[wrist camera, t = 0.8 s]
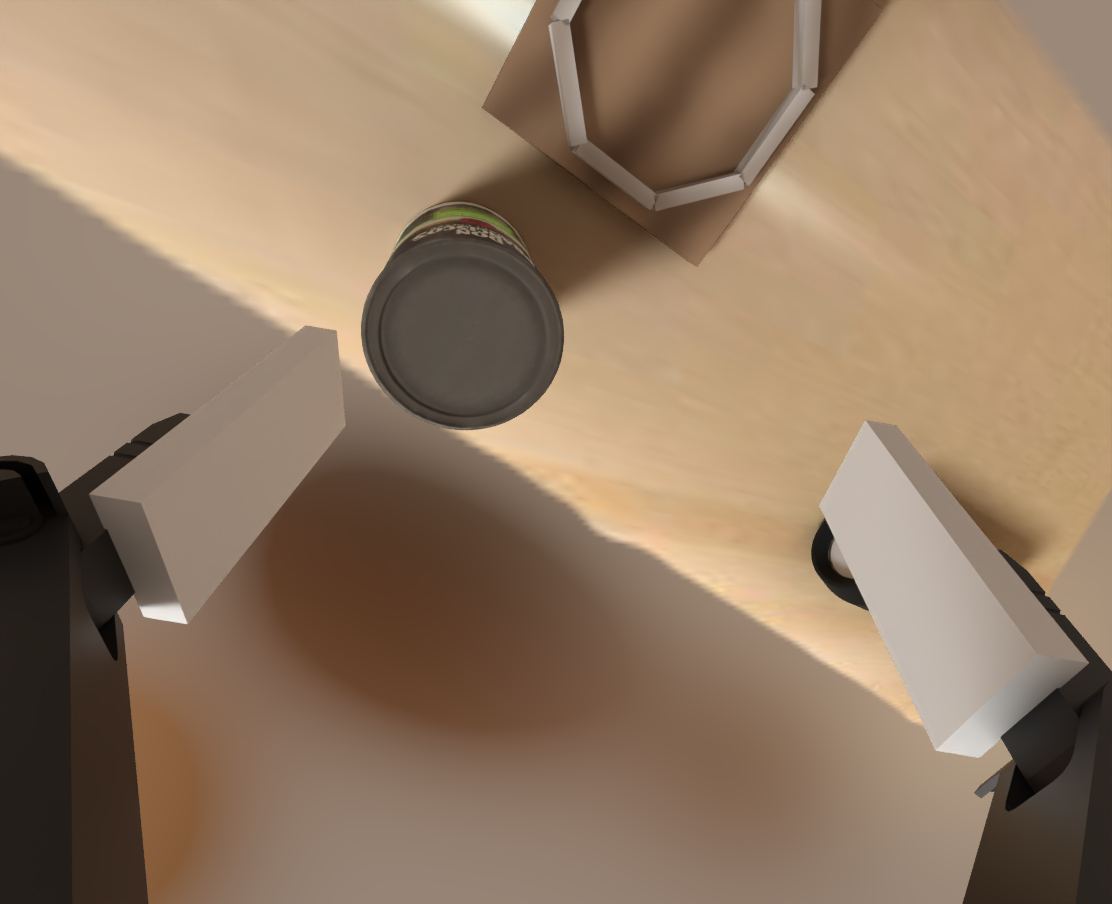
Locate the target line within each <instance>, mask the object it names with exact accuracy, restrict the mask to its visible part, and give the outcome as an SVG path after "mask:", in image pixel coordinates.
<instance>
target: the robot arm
mask: <svg viewBox="0 0 1112 904" xmlns="http://www.w3.org/2000/svg"><path fill="white" fill-rule="evenodd" d="M344 427H345V414H344V404H343V393H342V383H341V372H340V362H339V351H338V341H337V331H335V330H329V329H323V328H318V327H312V326H304V327H303V328H302V329H301V330H299V331H298V332H297V333H295V334H294V335H293V336H292V337H290V338H289V339H288V340H286V341H285V342H284V343H283V344H281V345H280V346H279V347H277V348H276V349H275V350H274V351H272V352H271V353H270V354H268V355H267V356H266V357H264V358H263V359H262V360H261V361H259V362H258V363H257V364H255V365H254V366H253V367H252V368H250V369H249V370H248V371H246V372H245V373H244V374H243V375H242V376H240V377H239V378H237V379H236V380H235V381H234V382H232V383H231V384H230V385H229V386H227V387H226V388H225V389H223V390H222V391H221V392H219V393H218V394H217V395H216V396H214V397H213V398H212V399H210V400H209V401H208V402H207V403H205V404H204V405H203V406H202V407H200V408H199V409H198V410H196V411H195V412H194V413H193V414H191V415H189V414H183V413H179V414H176V415H174V416H171V417H169V418H167V419H164V420H162V421H159V422H157V423H155V424H152V425H151V426H149V427H148V428H147V429H145V430H144V431H142V432H141V433H140V434H138V435H137V436H136V437H134V438H133V439H132V440H131V443H126V444H125V445H123V446H122V447H121V448H119V449H118V450H117V451H115V452H114V456H109V457H107V458H106V459H104V460H103V461H102V462H100V463H99V464H97V465H96V466H95V467H93V468H92V469H91V470H89V471H88V472H87V473H85V474H84V475H82V476H81V477H80V478H78V479H77V480H76V481H74V482H73V483H72V484H70V485H69V486H68V487H66V488H65V489H64V490H62V491H61V492H59V493H58V490H57V489H56V487H55V484H54V482H53V480H52V478H51V476H50V474H49V472H48V470H47V468H46V466H45V464H44V463H43V462H41V461H39V460H36V459H34V458H32V457H25V456H14V455H11V456H1V457H0V904H148V893H147V883H146V871H145V860H144V849H143V839H142V828H141V817H140V806H139V795H138V784H137V774H136V763H135V752H134V740H133V730H132V719H131V708H130V697H129V686H128V675H127V664H126V653H125V643H124V632H123V624H122V622H121V619H120V617H119V615H118V613H117V611H118V610H119V609H120V608H121V607H122V606H123V605H124V604H125V603H126V602H127V601H128V599H130V598H131V596H132V595H133V594H134V596H135V598H136V600H137V602H138V605H139V607H140V609H141V611H142V614H143V616H144V617H148V618H154V619H160V620H166V621H172V622H178V623H184V624H188V623H189V622H190V621H191V619H192V618H193V617H194V615H195V614H196V613H197V612H198V610H199V609H200V608H201V607H202V605H203V604H204V603H205V602H206V600H207V599H208V598H209V597H210V595H211V594H212V593H213V592H214V590H215V589H216V588H217V586H218V585H219V584H220V583H221V581H222V580H223V579H224V578H225V576H226V575H227V574H228V573H229V571H230V570H231V569H232V568H233V566H234V565H235V564H236V562H237V561H238V560H239V559H240V558H241V556H242V555H243V554H244V553H245V551H246V550H247V549H248V547H249V546H250V545H251V544H252V543H253V541H254V540H255V539H256V537H257V536H258V535H259V534H260V532H261V531H262V530H263V529H264V527H265V526H266V525H267V524H268V522H269V521H270V520H271V519H272V517H273V516H274V515H275V513H276V512H277V511H278V510H279V509H280V507H281V506H282V505H283V503H284V502H285V501H286V500H287V498H288V497H289V496H290V494H291V493H292V492H293V491H294V490H295V488H296V487H297V486H298V485H299V483H300V482H301V481H302V480H303V478H304V477H305V476H306V475H307V473H308V472H309V471H310V470H311V468H312V467H313V466H314V464H315V463H316V462H317V461H318V460H319V458H320V457H321V456H322V454H323V453H324V452H325V451H326V449H327V448H328V447H329V446H330V444H331V443H332V442H333V440H334V439H335V438H336V437H337V436H338V434H339V433H340V432H341V430H342V429H343V428H344ZM819 506H820V508H821V510H822V513H823V515H824V517H825V519H826V521H827V523H828V525H829V527H830V529H831V531H832V534H833V536H834V538H835V540H836V542H837V544H838V546H839V548H840V550H841V552H842V555H843V557H844V559H845V561H846V563H847V565H848V567H849V569H850V571H851V574H852V576H853V578H854V580H855V582H856V584H857V586H858V588H859V590H860V592H861V595H862V597H863V599H864V601H865V603H866V605H867V607H868V609H869V611H870V613H871V616H872V618H873V620H874V622H875V624H876V626H877V628H878V630H879V632H880V634H881V637H882V639H883V641H884V643H885V645H886V647H887V649H888V651H889V653H890V655H891V658H892V660H893V662H894V664H895V666H896V668H897V670H898V672H899V674H900V676H901V679H902V681H903V683H904V685H905V687H906V689H907V691H908V693H909V695H910V698H911V700H912V702H913V704H914V706H915V708H916V710H917V712H918V714H919V716H920V719H921V721H922V723H923V725H924V727H925V729H926V731H927V733H928V735H929V737H930V740H931V742H932V744H933V746H934V748H935V750H937V751H942V752H948V753H954V754H960V755H966V756H972V757H978V758H979V757H981V756H982V755H983V754H984V753H985V752H986V751H988V750H989V749H990V748H991V747H992V746H993V745H995V744H996V743H997V742H998V741H999V740H1000V739H1002V740H1003V742H1004V744H1005V746H1006V747H1007V749H1008V751H1009V752H1010V754H1011V756H1012V758H1013V759H1012V760H1011V761H1010V762H1009V763H1007V764H1006V765H1005V766H1004V767H1003V768H1001V769H1000V770H999V771H998V772H996V773H995V774H994V775H993V776H991V777H990V778H989V779H988V780H986V781H985V782H984V783H983V784H982V785H980V786H979V788H978V789H977V790H976V791H975V794H976V795H978V796H979V797H980V798H982V797H983V796H984V795H986V794H987V793H989V792H993V791H994V796H993V799H992V803H991V806H990V810H989V813H988V817H987V820H986V824H985V827H984V831H983V834H982V838H981V841H980V845H979V848H978V852H977V855H976V858H975V863H974V866H973V869H972V872H971V876H970V880H969V883H968V887H967V890H966V894H965V897H964V901H963V904H1112V671H1111V670H1110V669H1109V668H1108V667H1107V665H1106V664H1105V663H1104V662H1103V661H1102V659H1101V658H1100V657H1099V656H1098V655H1097V653H1096V652H1095V651H1094V650H1093V649H1092V647H1091V646H1090V645H1089V644H1088V643H1087V641H1086V640H1085V639H1084V638H1083V637H1082V635H1081V634H1080V633H1079V632H1078V631H1077V629H1076V628H1075V627H1074V626H1073V625H1072V624H1071V622H1070V621H1069V620H1068V619H1067V618H1066V616H1065V615H1061V614H1060V611H1061V610H1060V609H1059V608H1058V607H1057V606H1056V604H1055V603H1054V602H1053V601H1052V600H1051V598H1050V597H1047V596H1045V591H1044V590H1043V589H1042V588H1041V587H1040V585H1039V584H1038V583H1037V582H1036V581H1035V579H1034V578H1033V577H1032V576H1031V575H1030V573H1029V572H1028V571H1027V570H1026V569H1024V568H1023V567H1022V566H1021V565H1019V564H1018V563H1017V562H1016V561H1014V560H1013V559H1012V558H1011V557H1009V556H1008V555H1007V554H1006V553H1004V552H1003V551H1002V550H998V549H996V548H995V546H994V545H993V544H992V543H991V542H990V540H989V539H988V538H987V537H986V535H985V534H984V533H983V532H982V530H981V529H980V528H979V527H978V526H977V524H976V523H975V522H974V521H973V519H972V518H971V517H970V516H969V514H968V513H967V512H966V511H965V510H964V508H963V507H962V506H961V505H960V503H959V502H958V501H957V500H956V498H955V497H954V496H953V495H952V494H951V492H950V491H949V490H948V489H947V487H946V486H945V485H944V484H943V482H942V481H941V480H940V479H939V477H938V476H937V475H936V474H935V473H934V471H933V470H932V469H931V468H930V466H929V465H928V464H927V463H926V461H925V460H924V459H923V458H922V457H921V455H920V454H919V453H918V452H917V450H916V449H915V448H914V447H913V445H912V444H911V443H910V442H909V441H908V439H907V438H906V437H905V436H904V434H903V433H902V432H901V431H900V429H899V428H898V427H897V426H896V425H891V424H885V423H879V422H873V421H867V420H865V422H864V424H863V426H862V427H861V429H860V431H859V433H858V435H857V437H856V439H855V440H854V442H853V444H852V446H851V448H850V450H849V451H848V453H847V455H846V457H845V459H844V461H843V463H842V464H841V466H840V468H839V470H838V472H837V474H836V475H835V477H834V479H833V481H832V483H831V485H830V487H829V488H828V490H827V492H826V494H825V496H824V498H823V499H822V501H821V503H820V505H819Z"/></svg>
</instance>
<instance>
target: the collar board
mask: <svg viewBox="0 0 1112 904" xmlns="http://www.w3.org/2000/svg"><path fill="white" fill-rule="evenodd" d="M881 12H882V11H881V10H880V9H879V7H878V6H877V5H876V4H875V2H874V1H873V0H536V2H535V4H534V6H533V8H532V10H531V12H530V14H529V16H528V18H527V20H526V22H525V24H524V26H523V28H522V30H521V32H520V33H519V35H518V37H517V39H516V41H515V43H514V45H513V47H512V49H511V51H510V53H509V55H508V57H507V59H506V61H505V63H504V65H503V67H502V69H501V71H500V73H499V75H498V77H497V79H496V81H495V83H494V85H493V87H492V89H491V91H490V93H489V95H488V97H487V99H486V101H485V103H484V105H483V107H482V108H483V109H485V110H486V111H487V112H489V113H490V114H491V115H493V116H494V117H495V118H497V119H498V120H499V121H501V122H502V123H503V124H505V125H506V126H507V127H509V128H510V129H511V130H513V131H514V132H515V133H517V134H518V135H519V136H521V137H522V138H523V139H525V140H526V141H527V142H529V143H530V144H531V145H533V146H534V147H535V148H537V149H538V150H539V151H541V152H542V153H543V154H545V155H546V156H547V157H549V158H550V159H552V160H553V161H554V162H556V163H557V164H558V165H560V166H561V167H562V168H564V169H565V170H566V171H568V172H569V173H570V174H572V175H573V176H574V177H576V178H577V179H578V180H580V181H581V182H582V183H584V184H585V185H586V186H588V187H589V188H590V189H592V190H593V191H594V192H596V193H597V194H598V195H600V196H601V197H602V198H604V199H605V200H606V201H608V202H609V203H610V204H612V205H613V206H614V207H616V208H617V209H619V210H620V211H621V212H623V213H624V214H625V215H627V216H628V217H629V218H631V219H632V220H633V221H635V222H636V223H637V224H639V225H640V226H641V227H643V228H644V229H645V230H647V231H648V232H649V233H651V234H652V235H653V236H655V237H656V238H657V239H659V240H660V241H661V242H663V243H664V244H665V245H667V246H668V247H669V248H671V249H672V250H673V251H675V252H676V253H677V254H679V255H680V256H681V257H683V258H684V259H685V260H687V261H688V262H690V263H692V264H693V265H695V266H697V267H698V265H699V264H700V262H701V261H702V260H703V258H704V257H705V255H706V254H707V253H708V251H709V250H710V249H711V247H712V246H713V244H714V243H715V242H716V240H717V239H718V237H719V236H720V235H721V233H722V232H723V231H724V229H725V228H726V226H727V225H728V224H729V222H730V221H731V220H732V218H733V217H734V215H735V214H736V213H737V211H738V210H739V208H740V207H741V206H742V204H743V203H744V202H745V200H746V199H747V197H748V196H749V195H750V193H751V192H752V190H753V189H754V188H755V186H756V185H757V184H758V182H759V181H760V179H761V178H762V177H763V175H764V174H765V172H766V171H767V170H768V168H769V167H770V166H771V164H772V163H773V161H774V160H775V159H776V157H777V156H778V154H779V153H780V152H781V150H782V149H783V148H784V146H785V145H786V143H787V142H788V141H789V139H790V138H791V137H792V135H793V134H794V132H795V131H796V130H797V128H798V127H799V125H800V124H801V123H802V121H803V120H804V119H805V117H806V116H807V114H808V113H809V112H810V110H811V109H812V107H813V106H814V105H815V103H816V102H817V101H818V99H819V98H820V96H821V95H822V94H823V92H824V91H825V89H826V88H827V87H828V85H829V84H830V83H831V81H832V80H833V78H834V77H835V76H836V74H837V73H838V71H839V70H840V69H841V67H842V66H843V65H844V63H845V62H846V60H847V59H848V58H849V56H850V55H851V54H852V52H853V51H854V49H855V48H856V47H857V45H858V44H859V42H860V41H861V40H862V38H863V37H864V36H865V34H866V33H867V31H868V30H869V29H870V27H871V26H872V24H873V23H874V22H875V20H876V19H877V18H878V16H879V15H880V13H881Z"/></svg>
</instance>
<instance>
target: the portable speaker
mask: <svg viewBox="0 0 1112 904" xmlns="http://www.w3.org/2000/svg"><path fill="white" fill-rule="evenodd" d="M811 555H812V562H813V566H814V568H815V570H816V572H817V574H818V575H819V577H820V578H821V579H822V580H823V582H824V583H825V584H826V585H827V587H828V588H829V589H830V590H831V591H832V592H833V593H834V594H835V595H836V596H838V597H839V598H841V599H842V600H844V601H846V602H849V603H851V604H853V605H856V606H858V607H861V608H863V609H865V610H868V611H869V609H868V607H867V605H866V603H865V601H864V599H863V597H862V595H861V592H860V590H859V588H858V586H857V584H856V582H855V580H854V578H853V576H852V574H851V571H850V569H849V567H848V565H847V563H846V561H845V559H844V557H843V555H842V552H841V550H840V548H839V546H838V544H837V542H836V540H835V538H834V536H833V534H832V531H831V529H830V527H829V525H828V523H827V521H825V522H824V523H823V524H822V525H821V527H820V528H819V530H818V531H817V533H816V535H815V538H814V540H813V544H812V550H811Z"/></svg>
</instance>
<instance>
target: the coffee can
mask: <svg viewBox="0 0 1112 904" xmlns="http://www.w3.org/2000/svg"><path fill="white" fill-rule="evenodd" d="M361 337H362V346H363V351H364V355H365V358H366V361H367V364H368V366H369V369H370V371H371V373H372V375H373V376H374V378H375V380H376V382H377V383H378V385H379V386H380V387H381V389H382V390H383V391H384V393H385V394H386V395H387V396H388V397H389V398H390V399H391V400H392V401H393V402H394V403H395V404H397V405H398V406H399V407H400V408H402V409H403V410H405V411H406V412H407V413H409V414H410V415H412V416H414V417H416V418H418V419H420V420H422V421H424V422H427V423H429V424H433V425H435V426H439V427H443V428H448V429H454V430H476V429H484V428H489V427H493V426H496V425H499V424H502V423H505V422H507V421H509V420H511V419H513V418H515V417H517V416H518V415H520V414H522V413H523V412H525V411H526V410H527V409H529V408H530V407H531V406H532V405H533V404H534V403H535V402H537V401H538V400H539V398H540V397H541V396H542V395H543V394H544V393H545V391H546V390H547V389H548V387H549V386H550V384H551V383H552V381H553V379H554V377H555V375H556V373H557V371H558V368H559V365H560V362H561V357H562V352H563V344H564V328H563V319H562V315H561V311H560V308H559V305H558V302H557V300H556V298H555V296H554V294H553V292H552V290H551V288H550V287H549V285H548V283H547V282H546V280H545V279H544V278H543V276H542V275H541V274H540V273H539V272H538V270H537V268H536V267H535V265H534V263H533V261H532V259H531V257H530V256H529V253H528V251H527V248H526V246H525V244H524V242H523V240H522V238H521V236H520V235H519V234H518V232H517V231H516V230H515V228H514V227H513V226H512V225H511V224H510V223H509V222H508V221H507V220H505V219H504V218H503V217H502V216H500V215H499V214H497V213H496V212H494V211H492V210H490V209H488V208H486V207H483V206H481V205H478V204H475V203H469V202H447V203H443V204H439V205H436V206H433V207H431V208H428V209H426V210H424V211H423V212H421V213H419V214H418V215H417V216H415V217H414V218H413V219H412V220H411V221H410V222H409V223H408V224H407V225H406V227H405V228H404V229H403V231H402V232H401V234H400V236H399V238H398V240H397V242H396V244H395V247H394V250H393V252H392V254H391V256H390V258H389V260H388V262H387V264H386V266H385V268H384V270H383V271H382V272H381V273H380V275H379V276H378V278H377V279H376V280H375V282H374V284H373V286H372V288H371V290H370V292H369V294H368V296H367V299H366V301H365V305H364V309H363V315H362V322H361Z"/></svg>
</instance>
